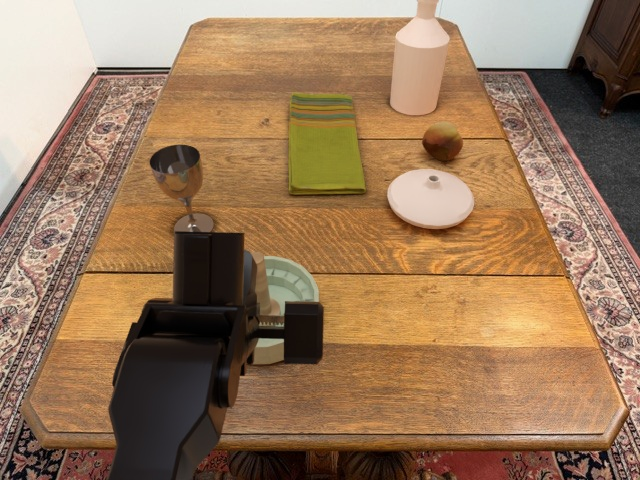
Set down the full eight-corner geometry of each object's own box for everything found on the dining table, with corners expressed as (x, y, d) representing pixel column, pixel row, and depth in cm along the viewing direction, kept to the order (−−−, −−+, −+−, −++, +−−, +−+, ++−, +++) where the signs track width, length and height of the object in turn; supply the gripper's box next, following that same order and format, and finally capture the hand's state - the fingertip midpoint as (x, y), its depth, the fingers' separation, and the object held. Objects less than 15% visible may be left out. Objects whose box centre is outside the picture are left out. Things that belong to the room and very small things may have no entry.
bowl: (298, 379, 64) (297, 360, 61) (191, 349, 68) (183, 329, 64) (332, 289, 75) (332, 268, 72) (238, 267, 79) (233, 246, 75)
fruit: (459, 170, 97) (467, 136, 91) (418, 165, 98) (424, 132, 92) (459, 149, 102) (466, 116, 96) (420, 145, 103) (425, 112, 98)
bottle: (440, 116, 112) (462, 4, 94) (390, 115, 112) (402, 4, 94) (434, 91, 120) (452, -16, 102) (387, 91, 120) (397, -16, 103)
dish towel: (351, 102, 117) (352, 90, 114) (367, 194, 92) (368, 181, 89) (289, 104, 116) (288, 91, 114) (288, 197, 91) (286, 184, 89)
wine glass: (207, 244, 83) (189, 175, 72) (164, 239, 84) (140, 171, 73) (221, 214, 88) (207, 146, 77) (181, 210, 89) (161, 142, 78)
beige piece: (284, 323, 70) (278, 265, 61) (253, 333, 69) (241, 275, 60) (275, 299, 73) (268, 240, 64) (245, 308, 72) (233, 249, 63)
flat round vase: (378, 229, 85) (382, 199, 80) (392, 176, 95) (396, 147, 90) (468, 245, 82) (477, 214, 77) (472, 189, 92) (481, 159, 87)
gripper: (322, 258, 42) (326, 252, 57) (114, 253, 42) (174, 249, 58) (320, 384, 42) (324, 344, 57) (112, 377, 42) (172, 340, 58)
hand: (248, 317), depth 58 cm, fingers open, 9 cm apart
